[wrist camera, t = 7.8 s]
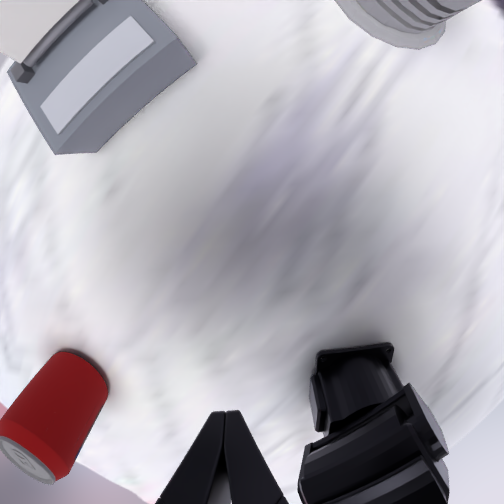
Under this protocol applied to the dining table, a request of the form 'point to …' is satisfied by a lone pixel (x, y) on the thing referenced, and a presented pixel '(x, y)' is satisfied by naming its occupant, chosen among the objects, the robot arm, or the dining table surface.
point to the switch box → (99, 74)
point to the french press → (404, 19)
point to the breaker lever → (35, 25)
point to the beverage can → (53, 417)
